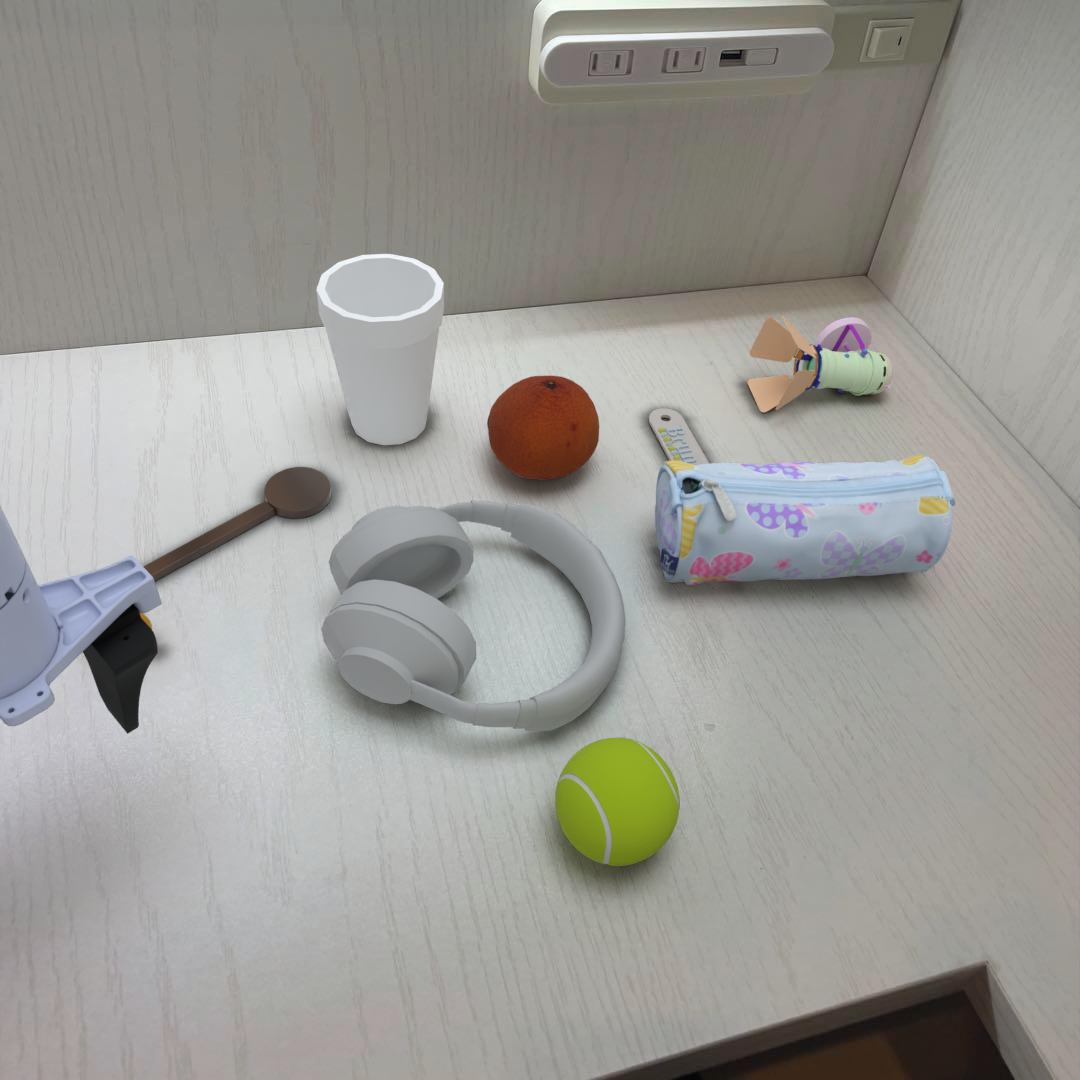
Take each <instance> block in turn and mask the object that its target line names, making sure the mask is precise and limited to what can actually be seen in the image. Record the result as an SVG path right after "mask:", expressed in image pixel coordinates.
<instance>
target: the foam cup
mask: <svg viewBox="0 0 1080 1080" xmlns="http://www.w3.org/2000/svg"><path fill="white" fill-rule="evenodd" d="M315 291H316V298H317V307H318V315H319V318H320V321H321V322H322V324H323V327H324V328H325V332H326V335H327V339H328V343H329V347H330V350H331V351H330V352H331V354H332V357H333V362H334V365H335V368H336V373H337V377H338V380H339V383H340V387H341V392H342V395H343V399H344V402H345V406H346V409H347V413H348V418H349V420H350V422H351V423H350V424H351V426H352V428H353V430H354V432H355V434H356V435H357V436H359V437H360V438H361V439H363V440H364V441H366V442H368V443H371V444H376V445H380V446H395V445H403V444H405V443H408V442H410V441H412V440H413V441H414V440H415V439H417V438H418V437H419V436H420V435H421V434H422V433H423V431H425V429H426V425H427V419H428V414H429V407H430V399H431V393H432V385H433V384H432V383H433V377H434V369H435V363H436V362H435V361H436V354H437V348H438V347H437V346H438V340H439V332H440V327H441V326H442V323H443V318H444V313H445V283H444V281H443V279H442V278H441V277H440V275H439V274H438V273H437V271H436V269H435V268H433V267H431V266H429V265H427V264H426V263H424V262H423V261H420V260H418V259H416V258H413V257H408V256H403V255H397V254H392V253H377V254H374V253H373V254H361V255H358V256H354V257H352V258H351V257H350V258H348V259H344V260H340V261H337V263H335V264H334V265H332V266H331V267H330V268H328V269H327V270H325V271H324V272H323V273H321V275H320V278H319V281H318V284H317V287H316V290H315Z"/></svg>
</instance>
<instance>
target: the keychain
mask: <svg viewBox="0 0 1080 1080" xmlns="http://www.w3.org/2000/svg"><path fill="white" fill-rule="evenodd" d="M663 418H666V419H669V420H667V421H666V420H663ZM648 423H649V425H650V428H651V429H652V431H653V433H654V435H655V437H656V438H657V441H658V443H659V444H660V446H661V447H662V450H663V451H664V454H665V455H666V457H667V459H668V461H672V460H675V461H681V462H685V463H689V464H692V465H701V464H710V462H709V460H708V459H707V457H706V455H705V453H704V452H703V450H702V448H701V446H700V445H699V443H698V441H697V440H696V438H695V436H694V434H693V432H692V431H691V429H690V428H689V425H688V424H687V422H686V421H685V419H684V417H683V415H682V414H681V413H680V412H678V411H677V410H674V409H671V408H666V407H664V408H663V407H661V408H656V409H654V410H653V411H651V413H649V417H648Z"/></svg>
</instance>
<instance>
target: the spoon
mask: <svg viewBox="0 0 1080 1080" xmlns="http://www.w3.org/2000/svg"><path fill="white" fill-rule="evenodd" d="M331 487H332V486H331V482H330V479H329V478H328V477H327V476H326V474H325V473H323V472H322V471H320V470H318V469H316V468H312V467H308V466H293V467H289V468H285V469H283V470H282V469H281V470H280V471H278V472H276V473H275V474H273V475H272V476H271V477H270V478H269V479H268V480H267V482H266V483H265V485H264V488H263V494H264V499H265V500H264V501H261V502H260V503H258V504H256V505H255V506H253V507H251V508H249V509H247V510H245V511H243V512H241V513H239V514H237V515H236V516H234V517H232V518H230V519H229V520H227V521H225V522H223V523H220V524H219V525H217V526H215V527H214V528H212V529H210V530H208V531H206V532H204V533H203V534H200V535H199V536H197V537H195V538H192V539H191V540H190V541H188V542H186V543H184V544H182V545H180V546H178V547H176V548H175V549H173V550H171V551H169V552H167V553H166V554H163V555H162V556H159V557H158V558H156V559H154V560H153V561H151V562H149V563H147V564H145V565H142V566H143V567H144V568H145V569H146V570H147V571H148V572H149V574H150V575H151V576H152V577H153V578H154V581H155V582H156V581H158V580H160V579H161V578H163V577H165V576H167V575H169V574H171V573H173V572H174V571H176V570H178V569H180V568H181V567H183V566H185V565H187V564H188V563H190V562H193V561H194V560H196V559H198V558H199V557H201V556H203V555H205V554H207V553H208V552H210V551H212V550H214V549H216V548H218V547H219V546H222V545H223V544H225V543H227V542H228V541H231V540H232V539H234V538H235V537H238V536H239V535H241V534H243V533H245V532H246V531H249V530H251V529H253V528H255V527H256V526H258V525H259V524H261V523H264V522H265V521H267V520H269V519H270V518H272V517H274V516H275V515H278V516H279V517H283V518H288V519H303V518H308V517H312V516H313V515H316V514H318V513H320V512H321V511H322V510H324V509H325V508H326V507H327V506H328V504H329V503H330V501H331V497H332V488H331Z"/></svg>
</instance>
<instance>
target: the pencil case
mask: <svg viewBox="0 0 1080 1080" xmlns="http://www.w3.org/2000/svg"><path fill="white" fill-rule="evenodd" d="M950 483H951V482H950V481H949V478H948V475H947V473H946V472H945V470H941V468H940V467H939V466H938V463H936V461H935V460H934V459H933V458H931V457H929V456H926V455H922V454H915V455H912V456H909V457H907V458H903V459H900V460H897V459H889V460H885V461H882V462H878V461H858V462H849V461H848V462H846V461H833V462H827V463H822V462H815V461H785V462H783V461H782V462H770V463H764V464H763V463H762V464H757V463H756V464H755V463H753V464H752V463H742V462H741V463H740V462H712V463H711V462H710V463H709V464H701V465H692V464H689V463H685V462H681V461H675V460H672V461H669V460H665V461H664V462H663V463H662V464H661V466H660V468H659V469H658V474H657V477H656V485H655V486H656V487H655V504H654V529H655V537H656V542H657V546H658V550H659V555H660V556H659V557H660V558H659V564H658V565H659V567H660V568H661V569H662V572H663V574H664V575H663V576H664V578H665V580H666V581H667V582H668V583H672V584H673V583H681V582H682V583H683V582H684V583H685V584H686V586H696V585H699V584H703V583H709V582H710V583H712V582H754V581H762V580H763V581H764V580H765V581H766V580H779V581H780V580H781V581H791V580H794V581H795V580H824V579H837V578H848V577H856V576H858V577H872V576H874V577H875V576H881V575H898V574H899V575H900V574H904V573H924V572H927V571H929V570H930V569H932V567H934V566H935V565H937V563H939V561H941V559H942V557H943V556H944V555H945V553H946V550H947V548H948V546H949V544H950V539H951V536H952V527H953V526H952V525H953V513H952V507H954V506H956V503H957V502H956V499H955V497H954V494H953V490H952V487H951V484H950Z"/></svg>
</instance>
